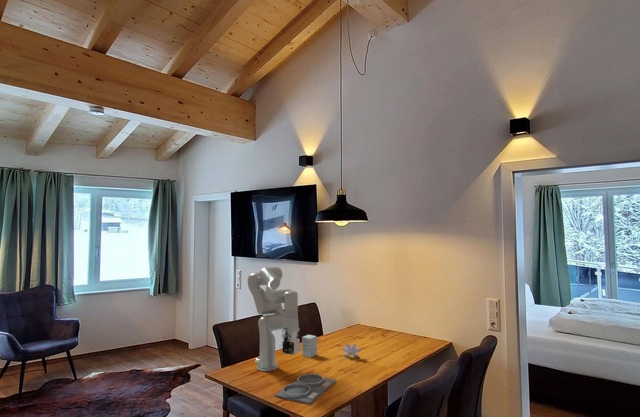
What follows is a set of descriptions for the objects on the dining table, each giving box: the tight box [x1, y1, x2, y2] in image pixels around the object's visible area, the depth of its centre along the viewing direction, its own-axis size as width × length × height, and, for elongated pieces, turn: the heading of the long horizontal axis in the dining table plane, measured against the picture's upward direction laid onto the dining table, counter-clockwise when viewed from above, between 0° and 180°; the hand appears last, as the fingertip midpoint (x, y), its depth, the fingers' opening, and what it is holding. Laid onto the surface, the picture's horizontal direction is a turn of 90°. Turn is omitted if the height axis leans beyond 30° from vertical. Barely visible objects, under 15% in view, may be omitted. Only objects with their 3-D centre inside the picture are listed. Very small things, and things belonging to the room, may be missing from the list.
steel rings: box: [282, 373, 324, 398], centre depth 199 cm, size 14×29×2 cm, turn 153°
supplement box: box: [301, 334, 318, 358], centre depth 253 cm, size 7×7×13 cm
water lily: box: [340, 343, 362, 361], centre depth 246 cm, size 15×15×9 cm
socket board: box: [274, 374, 337, 405], centre depth 198 cm, size 20×30×1 cm, turn 153°
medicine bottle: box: [282, 331, 301, 356], centre depth 207 cm, size 7×7×12 cm
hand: (291, 346), depth 206 cm, fingers closed on medicine bottle, 7 cm apart
